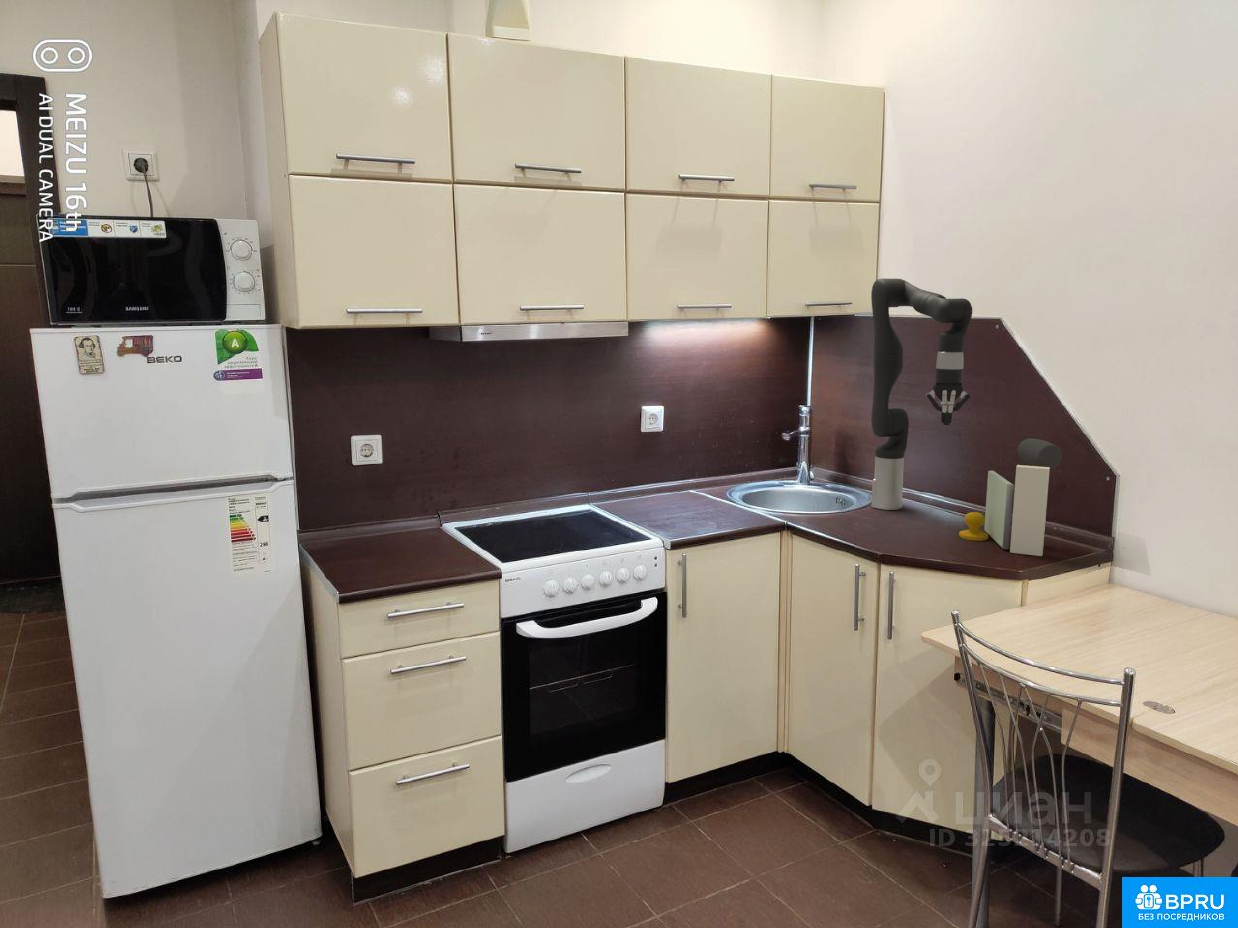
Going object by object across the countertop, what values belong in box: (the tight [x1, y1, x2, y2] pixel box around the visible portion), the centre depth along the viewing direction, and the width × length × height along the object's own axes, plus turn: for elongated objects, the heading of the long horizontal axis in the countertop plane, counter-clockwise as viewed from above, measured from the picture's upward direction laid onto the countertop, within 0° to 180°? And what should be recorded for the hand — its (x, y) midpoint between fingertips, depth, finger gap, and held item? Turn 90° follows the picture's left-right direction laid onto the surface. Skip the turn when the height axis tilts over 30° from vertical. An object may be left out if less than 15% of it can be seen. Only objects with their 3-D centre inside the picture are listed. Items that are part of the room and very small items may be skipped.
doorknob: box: [958, 511, 989, 542], centre depth 258 cm, size 8×8×8 cm
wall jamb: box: [1009, 464, 1051, 557], centre depth 240 cm, size 8×3×24 cm, turn 62°
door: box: [983, 470, 1015, 550], centre depth 252 cm, size 21×2×18 cm, turn 172°
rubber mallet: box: [1017, 437, 1063, 470], centre depth 248 cm, size 12×8×30 cm, turn 3°
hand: (945, 424), depth 265 cm, fingers closed
